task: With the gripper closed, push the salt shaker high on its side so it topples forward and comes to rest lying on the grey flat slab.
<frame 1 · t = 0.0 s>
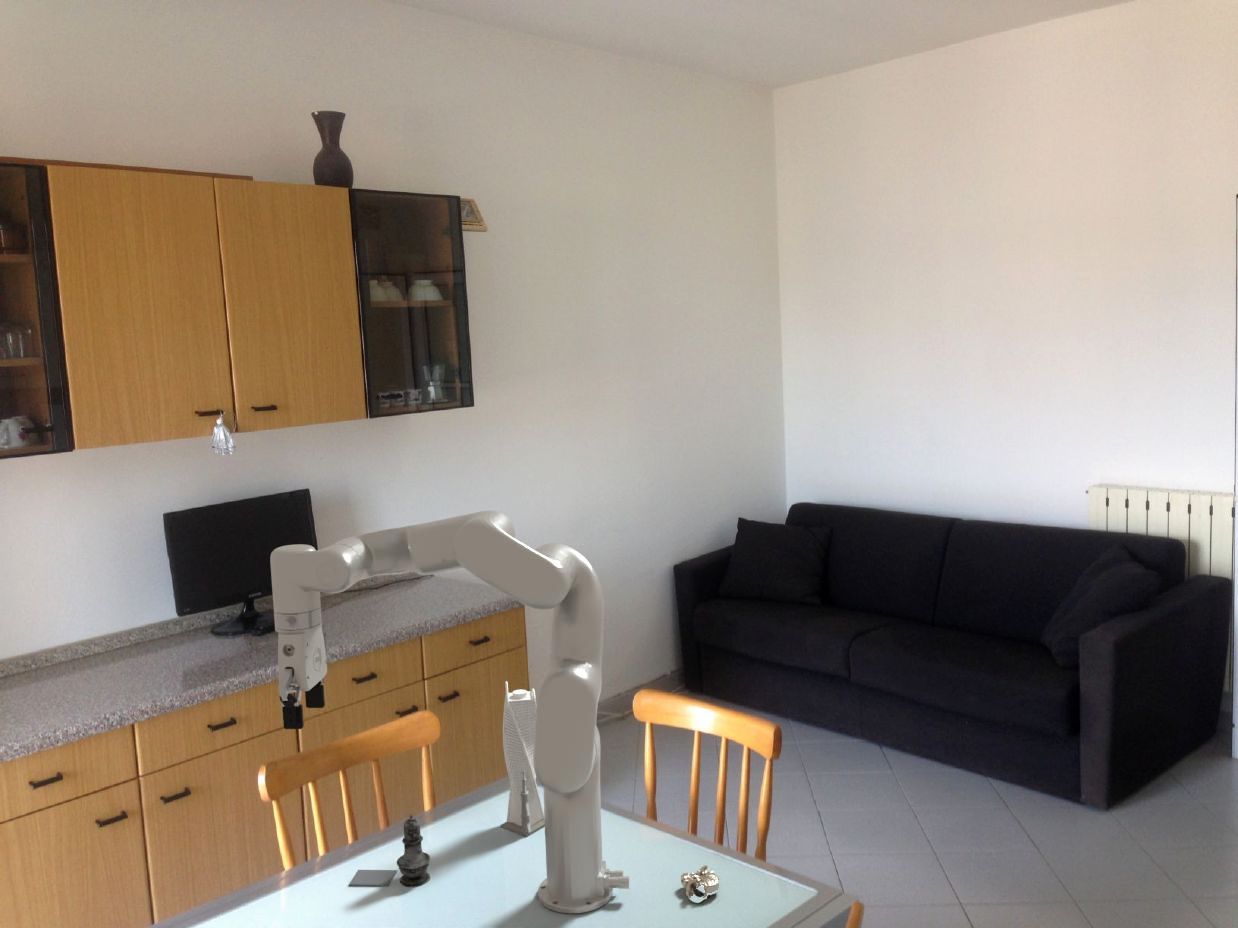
hand: (305, 717, 175), 31 cm above the table, tool pointing down, fingers open, 9 cm apart
ornament: (699, 893, 175), on the table
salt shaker: (414, 880, 182), on the table
skyscraper: (524, 823, 202), on the table
grey flat slab: (373, 878, 182), on the table
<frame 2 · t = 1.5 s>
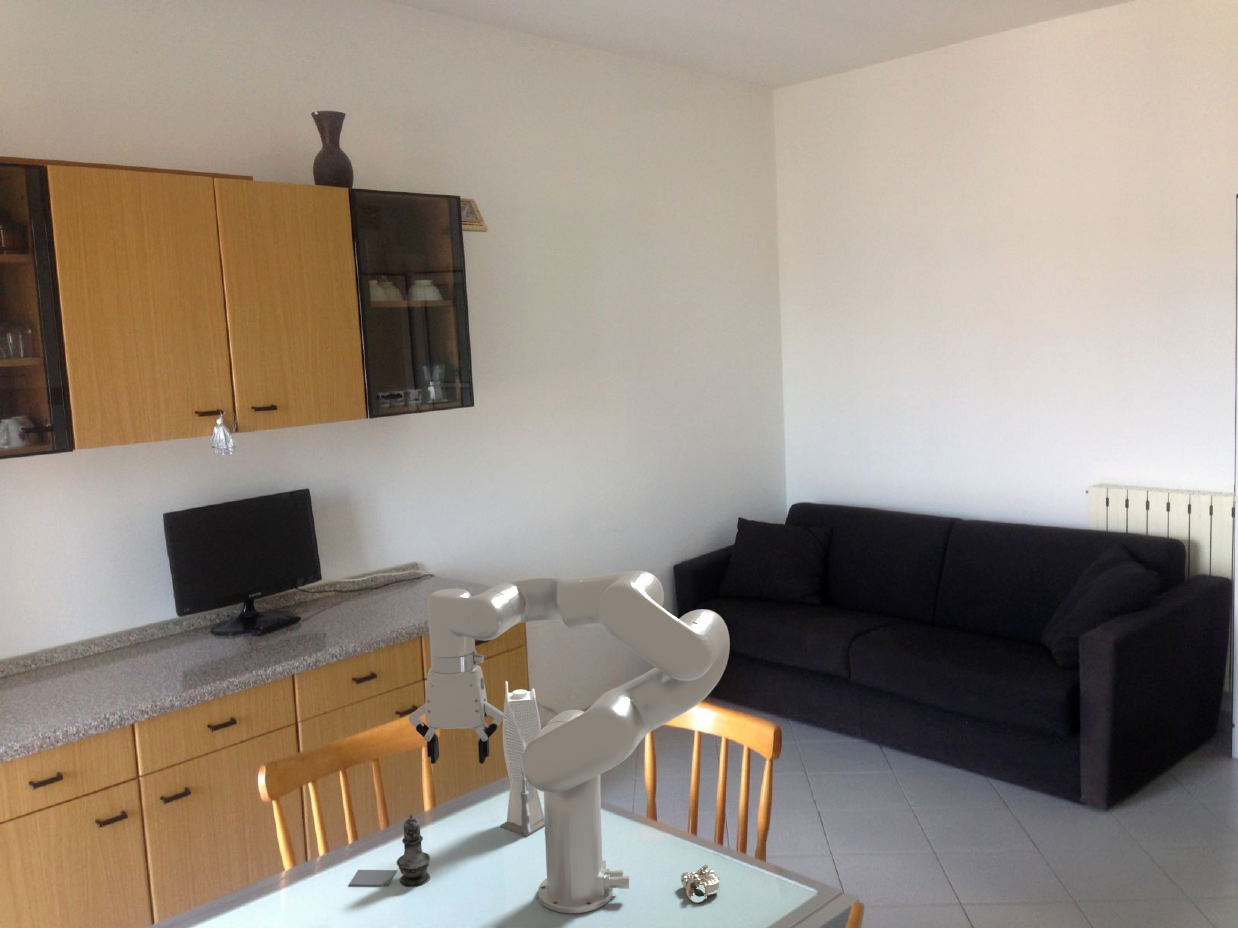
hand: (459, 759, 178), 22 cm above the table, tool pointing down, fingers open, 7 cm apart
nothing on the table moved.
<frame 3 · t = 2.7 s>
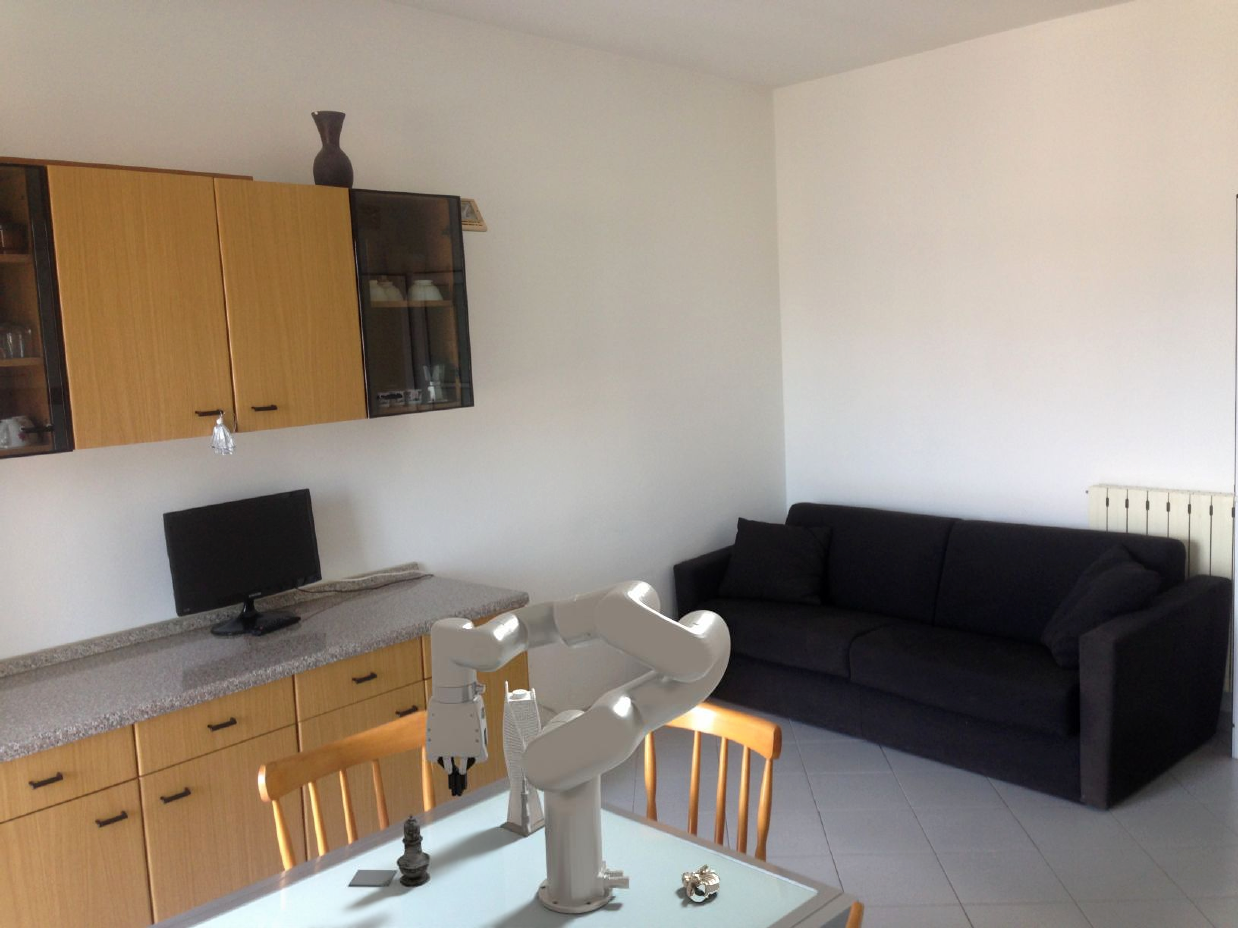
hand: (458, 792, 179), 16 cm above the table, tool pointing down, fingers closed
nothing on the table moved.
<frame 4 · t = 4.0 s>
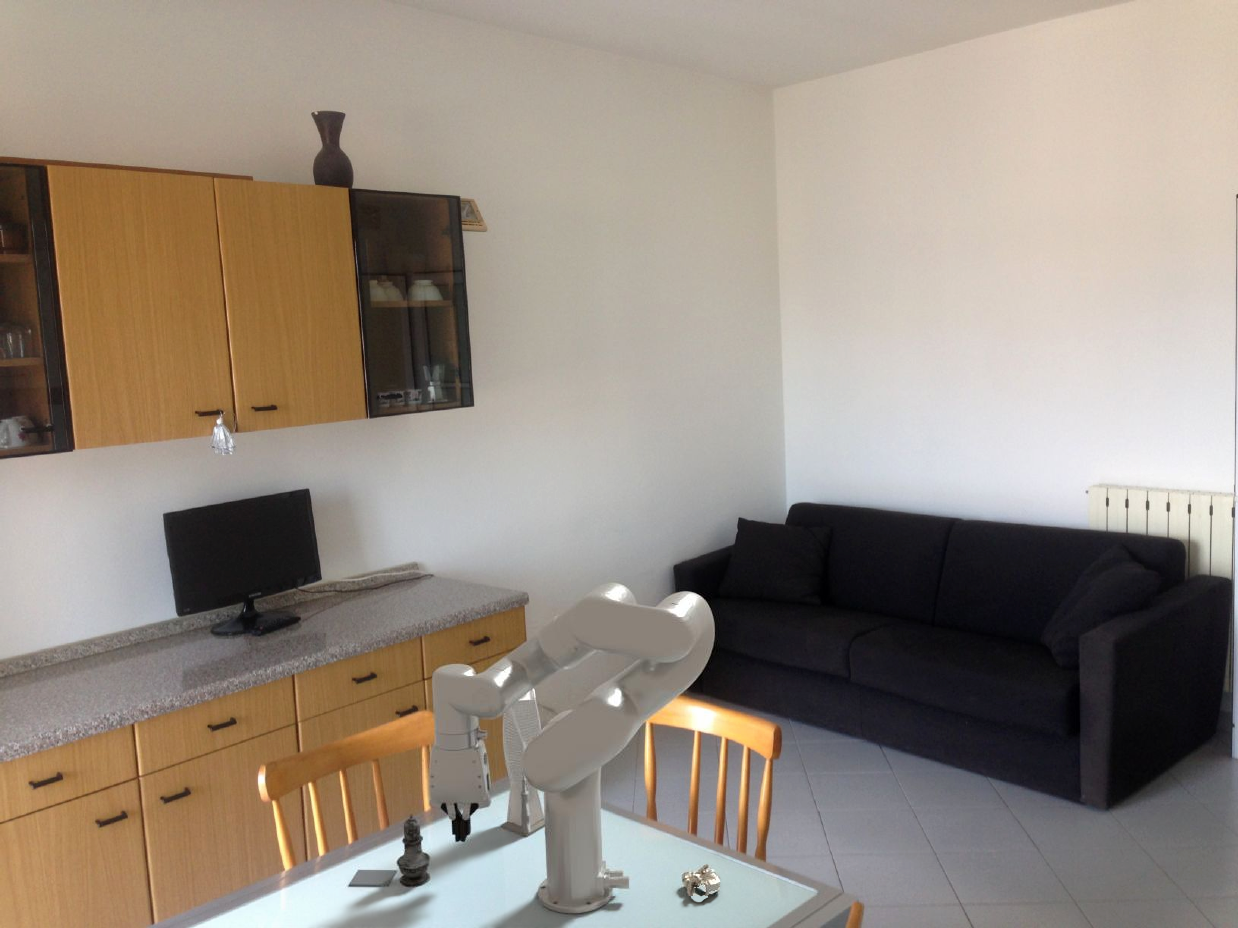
hand: (461, 837, 180), 8 cm above the table, tool pointing down, fingers closed
nothing on the table moved.
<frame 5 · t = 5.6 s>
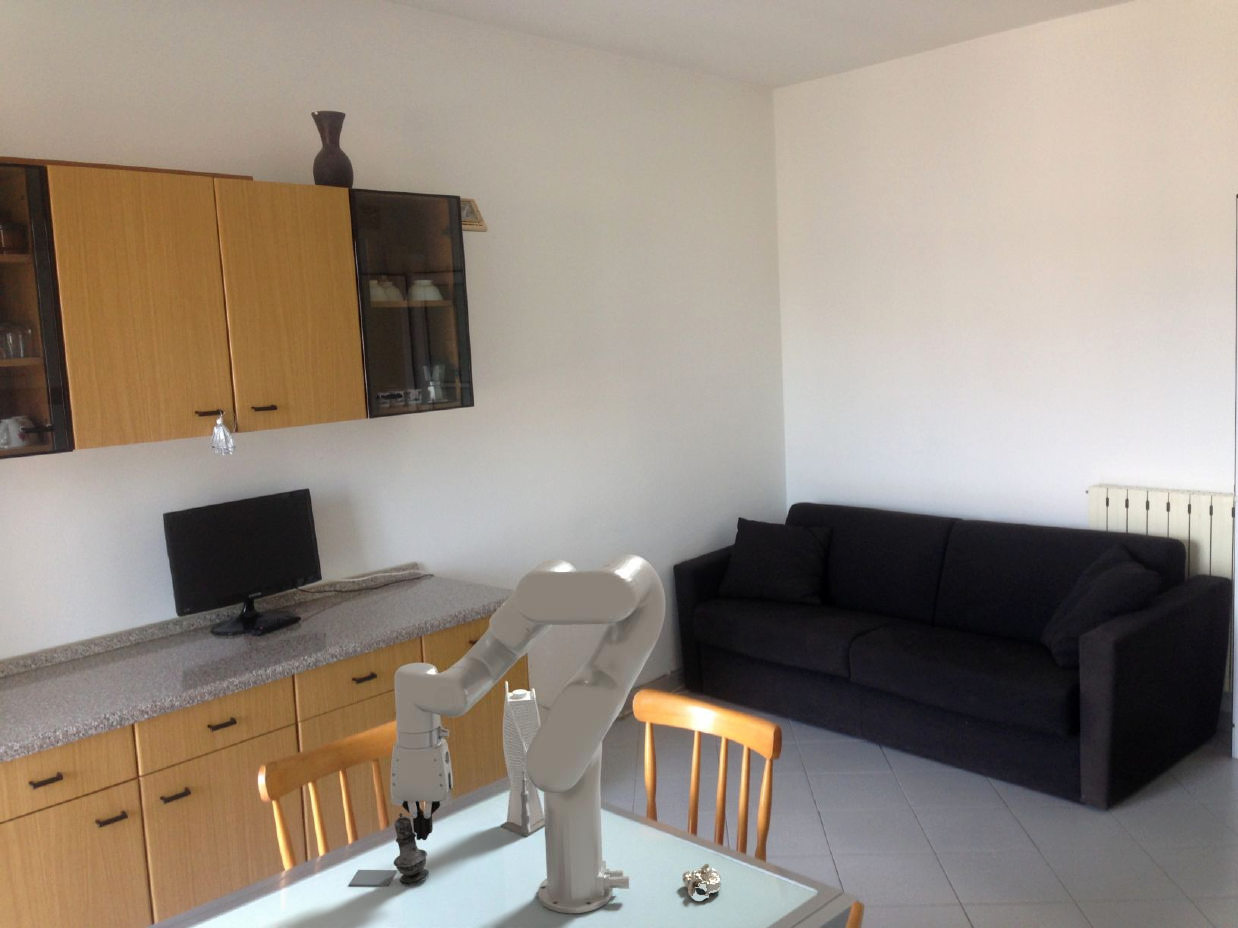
hand: (423, 836, 181), 8 cm above the table, tool pointing down, fingers closed
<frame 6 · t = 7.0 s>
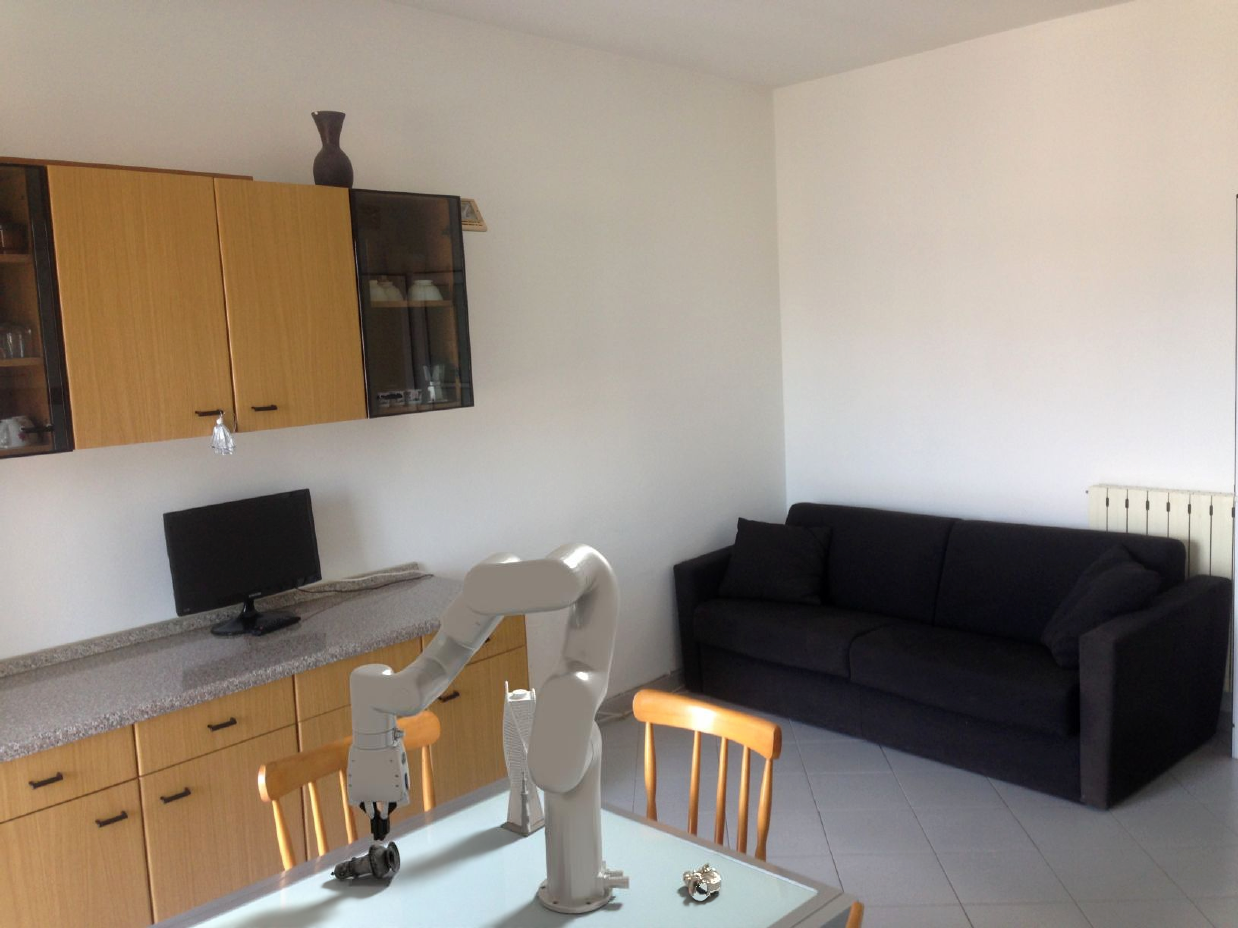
hand: (380, 836, 181), 8 cm above the table, tool pointing down, fingers closed
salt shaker: (395, 856, 181), point 4 cm above the table, touching grey flat slab
everything else where it was.
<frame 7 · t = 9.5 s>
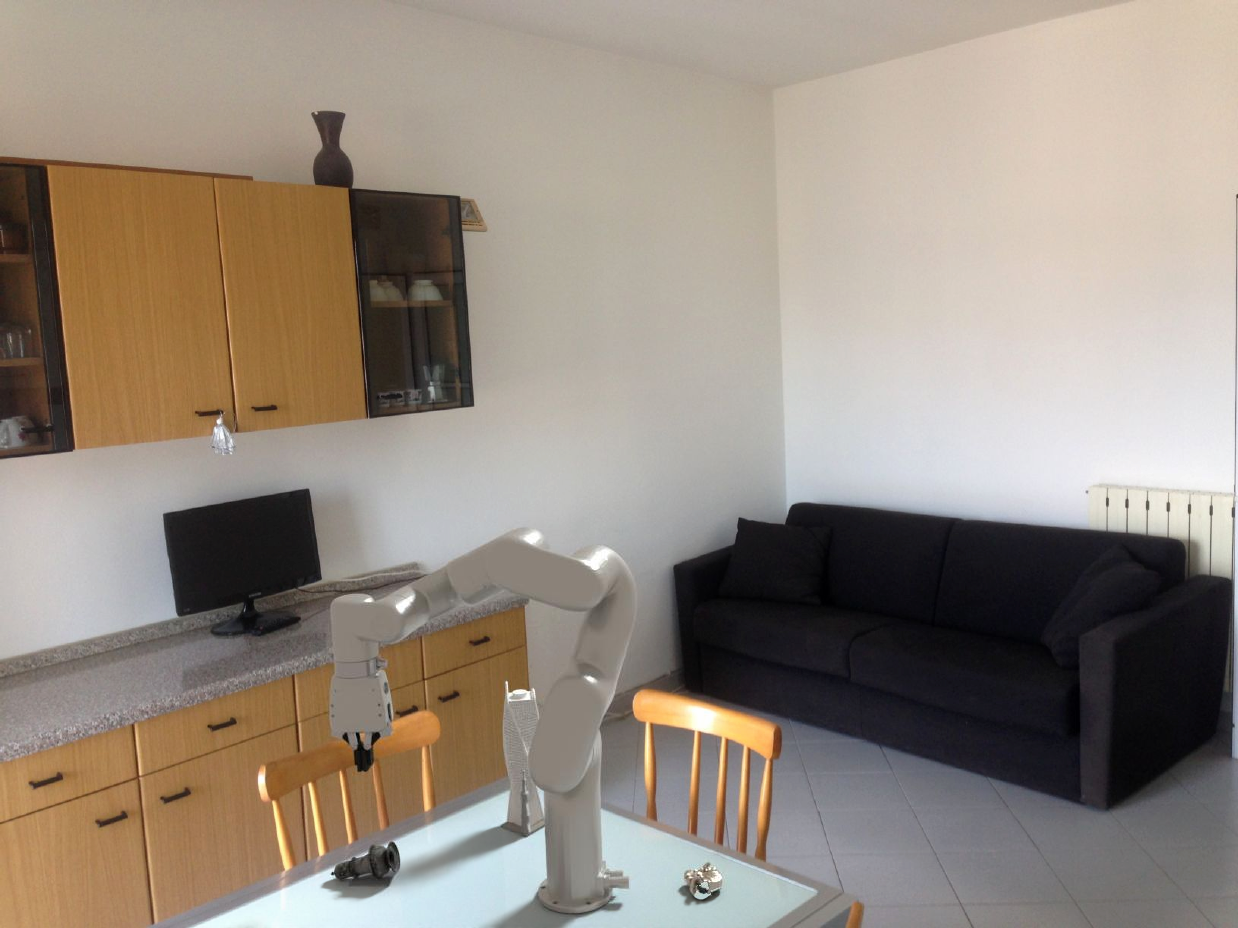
hand: (364, 768, 180), 20 cm above the table, tool pointing down, fingers closed
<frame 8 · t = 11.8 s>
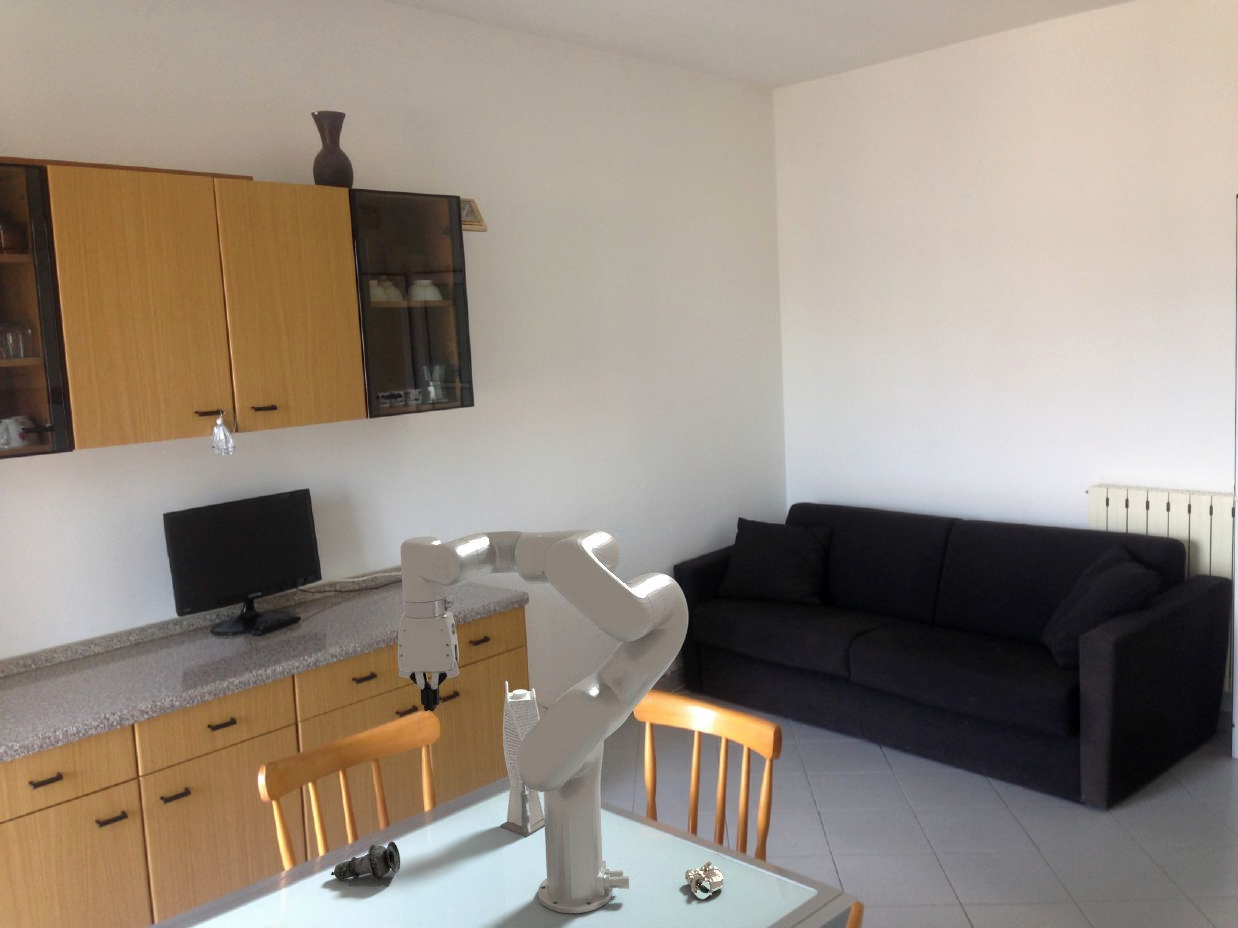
hand: (430, 708, 184), 29 cm above the table, tool pointing down, fingers closed
at the end: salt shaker tilted 105°; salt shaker touching grey flat slab, table; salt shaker inside the target area (0.2 cm from its centre), point 4.2 cm above the table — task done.
